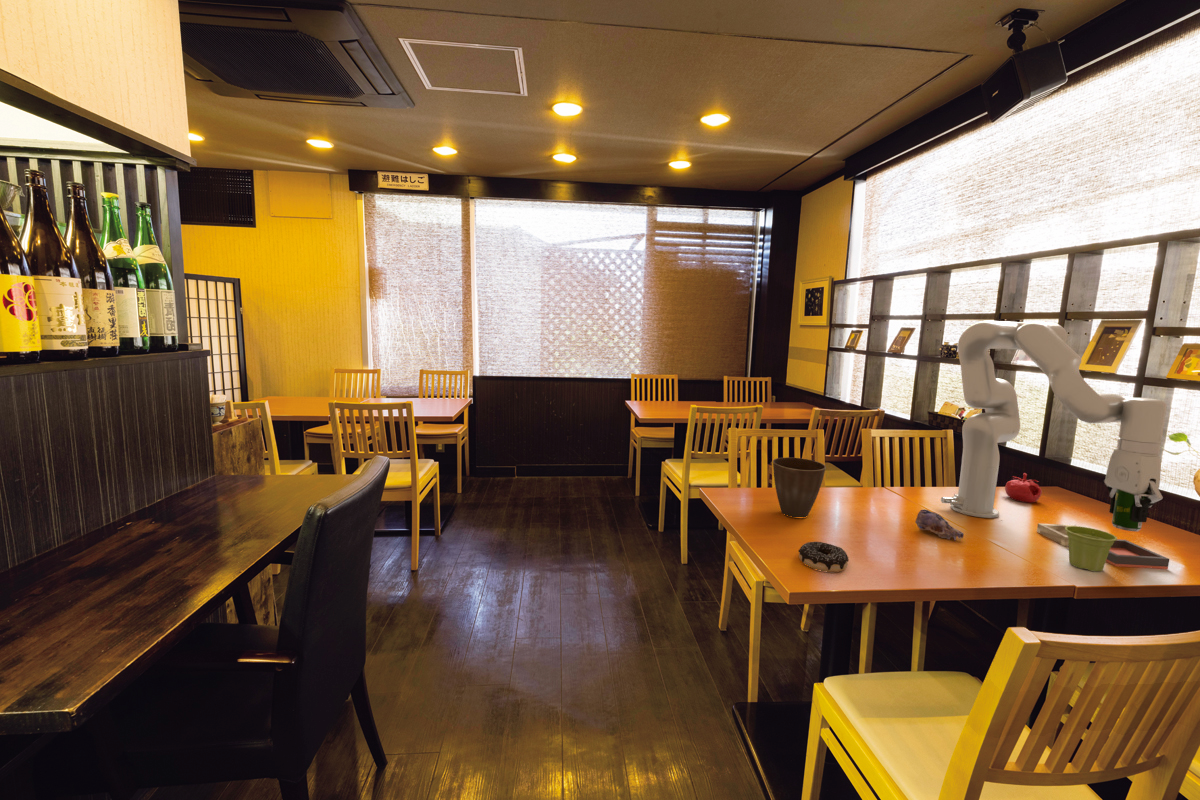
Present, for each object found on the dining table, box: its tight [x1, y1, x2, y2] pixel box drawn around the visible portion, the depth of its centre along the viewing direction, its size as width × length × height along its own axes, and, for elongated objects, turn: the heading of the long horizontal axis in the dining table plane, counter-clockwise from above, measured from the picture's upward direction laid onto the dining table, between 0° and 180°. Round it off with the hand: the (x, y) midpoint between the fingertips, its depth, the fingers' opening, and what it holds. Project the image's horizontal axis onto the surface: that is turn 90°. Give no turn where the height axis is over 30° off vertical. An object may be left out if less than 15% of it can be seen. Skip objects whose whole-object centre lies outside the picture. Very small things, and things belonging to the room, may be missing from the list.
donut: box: [798, 541, 850, 573], centre depth 128 cm, size 11×12×4 cm
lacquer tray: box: [1105, 538, 1170, 570], centre depth 137 cm, size 12×12×3 cm
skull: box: [915, 508, 964, 541], centre depth 149 cm, size 12×8×6 cm, turn 23°
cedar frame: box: [1036, 523, 1077, 547], centre depth 148 cm, size 10×10×2 cm
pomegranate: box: [1004, 472, 1043, 504], centre depth 183 cm, size 10×10×9 cm
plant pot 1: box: [772, 457, 827, 518], centre depth 161 cm, size 15×15×16 cm
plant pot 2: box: [1065, 525, 1118, 572], centre depth 130 cm, size 9×9×9 cm
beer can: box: [1111, 489, 1145, 532], centre depth 135 cm, size 5×5×12 cm
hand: (1127, 516), depth 136 cm, fingers closed on beer can, 5 cm apart
